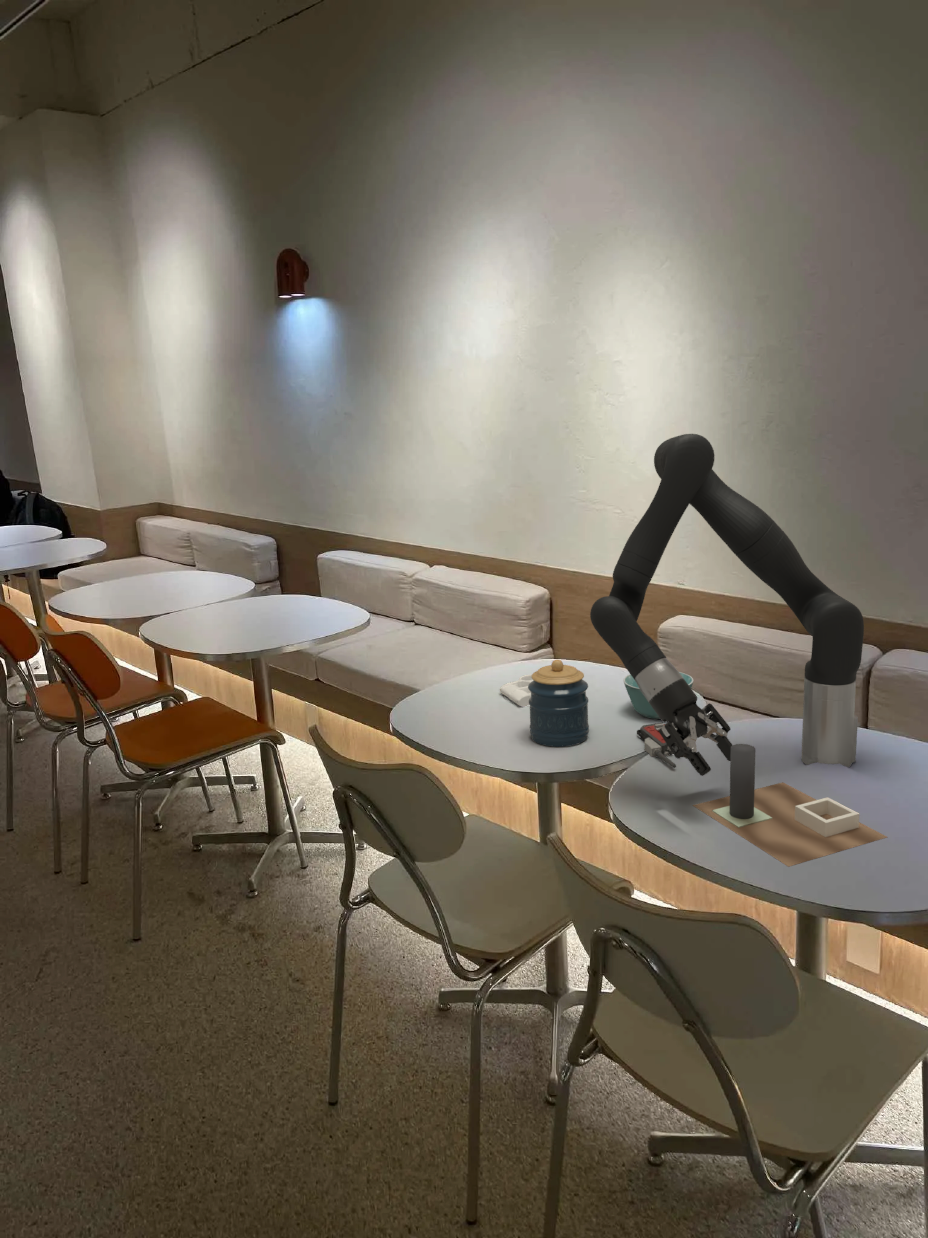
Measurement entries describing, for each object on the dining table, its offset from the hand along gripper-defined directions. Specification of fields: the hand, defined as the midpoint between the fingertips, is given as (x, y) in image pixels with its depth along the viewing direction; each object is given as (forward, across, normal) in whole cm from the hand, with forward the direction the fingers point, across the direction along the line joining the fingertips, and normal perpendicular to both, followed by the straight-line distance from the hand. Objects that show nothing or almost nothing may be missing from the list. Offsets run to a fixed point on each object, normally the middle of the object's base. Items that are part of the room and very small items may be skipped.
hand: (720, 765), depth 155 cm
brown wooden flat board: (+14, +3, -1) cm, 15 cm away
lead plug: (+8, 0, +2) cm, 9 cm away
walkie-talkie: (-10, +19, +24) cm, 32 cm away
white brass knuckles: (-42, +27, +56) cm, 75 cm away
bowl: (-21, +36, +34) cm, 54 cm away
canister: (-26, +10, +40) cm, 48 cm away
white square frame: (+17, +6, -6) cm, 19 cm away
